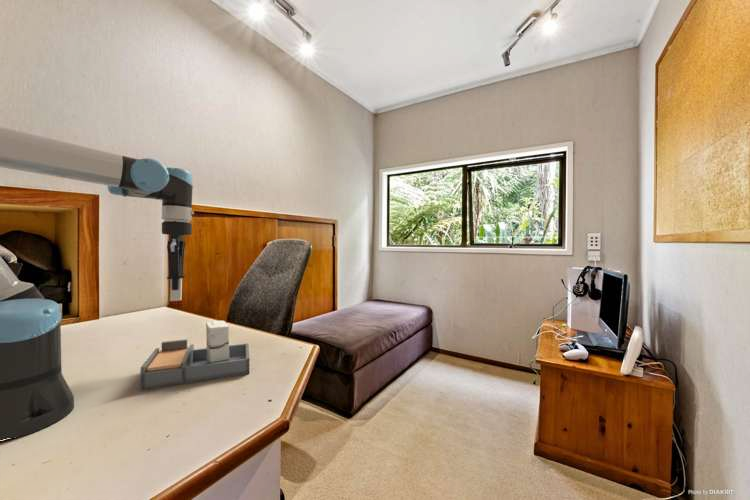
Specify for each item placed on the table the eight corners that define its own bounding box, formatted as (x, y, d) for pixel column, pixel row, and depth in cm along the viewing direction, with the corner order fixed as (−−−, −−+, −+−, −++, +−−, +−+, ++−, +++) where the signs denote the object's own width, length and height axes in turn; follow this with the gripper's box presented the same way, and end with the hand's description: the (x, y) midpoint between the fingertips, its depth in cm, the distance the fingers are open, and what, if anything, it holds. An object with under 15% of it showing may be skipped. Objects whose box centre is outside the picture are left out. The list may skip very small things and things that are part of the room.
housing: (141, 390, 73) (140, 367, 73) (156, 368, 86) (155, 348, 86) (249, 373, 83) (249, 353, 82) (248, 355, 95) (248, 338, 95)
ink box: (230, 368, 84) (229, 325, 83) (209, 372, 81) (209, 328, 80) (224, 358, 91) (224, 319, 90) (205, 362, 88) (205, 321, 87)
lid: (147, 371, 74) (147, 358, 74) (160, 353, 86) (160, 341, 86) (181, 366, 77) (180, 354, 77) (189, 349, 89) (189, 338, 89)
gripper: (188, 220, 87) (186, 303, 87) (194, 223, 99) (193, 296, 99) (156, 219, 84) (155, 305, 84) (167, 222, 96) (166, 297, 96)
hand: (175, 300), depth 91 cm, fingers closed
